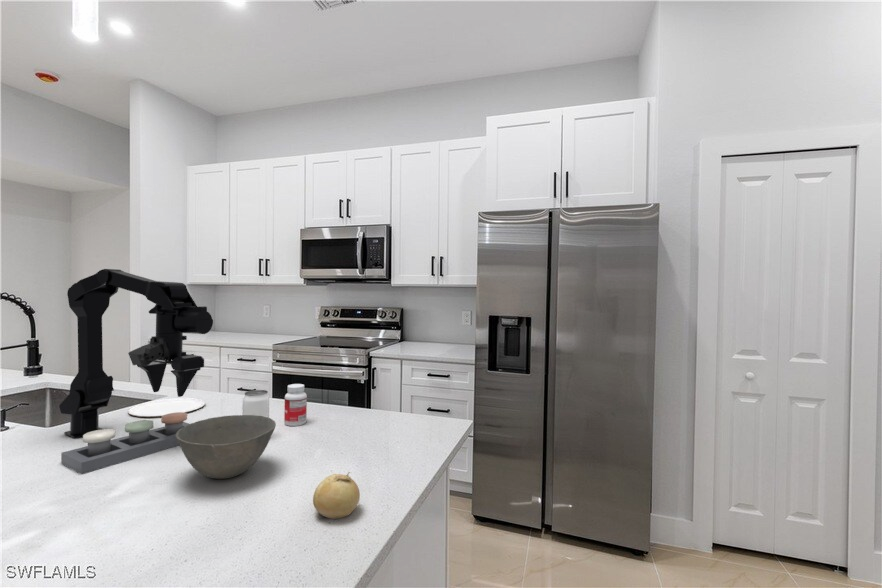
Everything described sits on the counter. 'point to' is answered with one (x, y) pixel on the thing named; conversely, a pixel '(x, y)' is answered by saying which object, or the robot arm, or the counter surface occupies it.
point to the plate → (166, 407)
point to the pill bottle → (295, 405)
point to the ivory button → (99, 441)
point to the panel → (118, 451)
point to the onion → (336, 496)
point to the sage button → (139, 431)
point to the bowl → (225, 443)
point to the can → (256, 403)
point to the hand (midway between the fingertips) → (168, 394)
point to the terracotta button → (173, 422)
